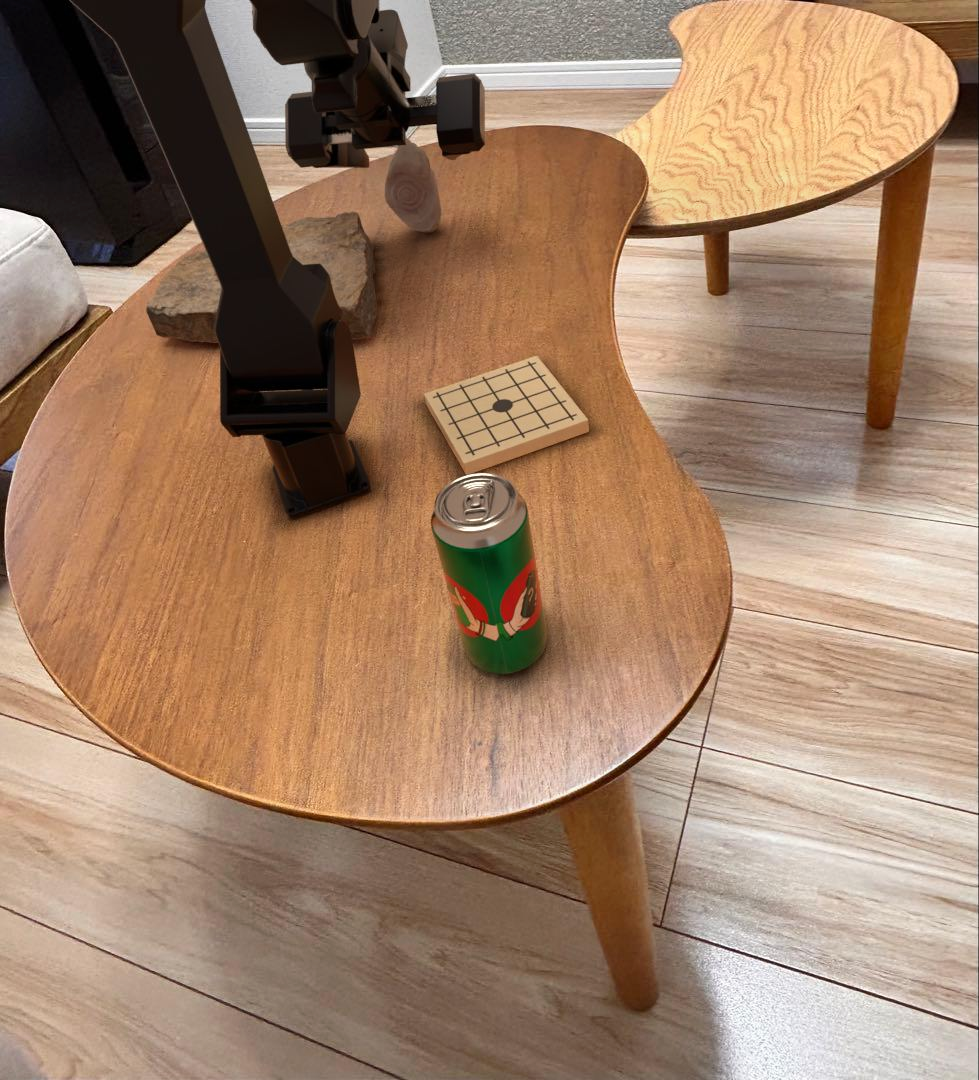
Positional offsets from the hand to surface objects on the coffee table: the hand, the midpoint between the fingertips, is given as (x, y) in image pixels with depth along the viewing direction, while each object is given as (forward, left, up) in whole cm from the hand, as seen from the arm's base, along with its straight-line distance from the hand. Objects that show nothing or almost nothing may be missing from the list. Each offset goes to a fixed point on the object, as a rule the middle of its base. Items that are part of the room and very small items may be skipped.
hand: (410, 158), depth 89 cm
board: (-36, +5, -7) cm, 37 cm away
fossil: (-1, +1, -8) cm, 8 cm away
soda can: (-57, +13, -8) cm, 59 cm away
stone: (-6, +17, -8) cm, 19 cm away
